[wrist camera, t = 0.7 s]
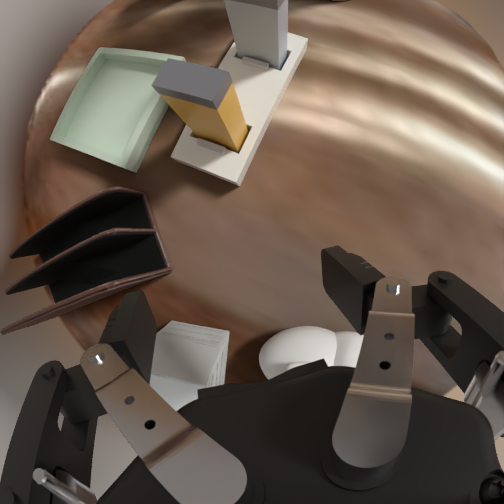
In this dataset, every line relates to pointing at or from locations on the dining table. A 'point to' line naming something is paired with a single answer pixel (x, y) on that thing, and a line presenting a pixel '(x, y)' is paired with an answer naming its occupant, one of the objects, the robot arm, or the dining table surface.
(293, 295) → the dining table surface
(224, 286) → the dining table surface
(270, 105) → the block
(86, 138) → the tray
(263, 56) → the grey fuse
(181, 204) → the dining table surface
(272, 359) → the cat figurine
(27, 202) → the dining table surface
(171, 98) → the yellow grey long block
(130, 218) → the letter holder
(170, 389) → the supplement box
